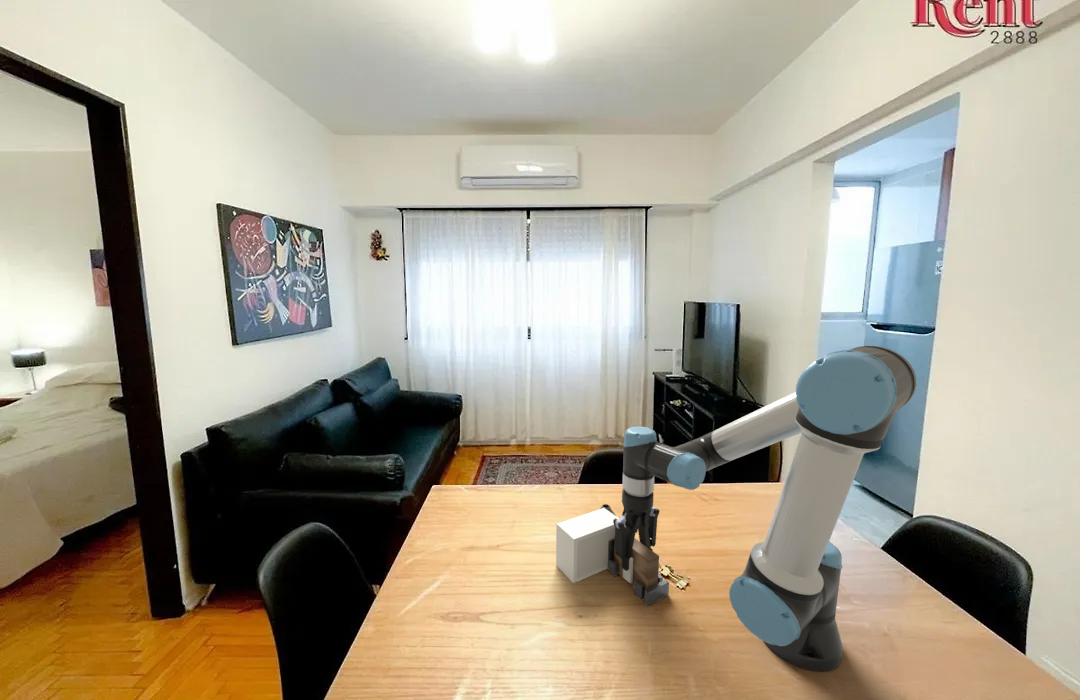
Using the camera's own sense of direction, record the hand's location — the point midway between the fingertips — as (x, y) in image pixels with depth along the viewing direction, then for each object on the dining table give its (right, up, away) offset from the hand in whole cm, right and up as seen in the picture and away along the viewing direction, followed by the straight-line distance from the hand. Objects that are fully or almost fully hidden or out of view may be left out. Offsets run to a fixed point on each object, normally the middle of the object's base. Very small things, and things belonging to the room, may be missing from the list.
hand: (634, 576), depth 105 cm
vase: (-4, +2, +21) cm, 21 cm away
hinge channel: (0, -1, 0) cm, 1 cm away
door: (0, -1, 0) cm, 1 cm away
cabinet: (-11, 0, +7) cm, 13 cm away
